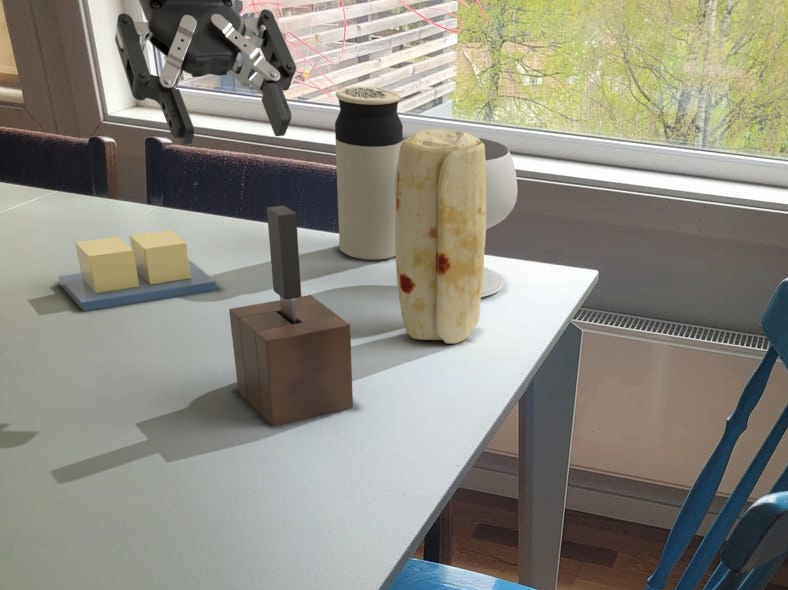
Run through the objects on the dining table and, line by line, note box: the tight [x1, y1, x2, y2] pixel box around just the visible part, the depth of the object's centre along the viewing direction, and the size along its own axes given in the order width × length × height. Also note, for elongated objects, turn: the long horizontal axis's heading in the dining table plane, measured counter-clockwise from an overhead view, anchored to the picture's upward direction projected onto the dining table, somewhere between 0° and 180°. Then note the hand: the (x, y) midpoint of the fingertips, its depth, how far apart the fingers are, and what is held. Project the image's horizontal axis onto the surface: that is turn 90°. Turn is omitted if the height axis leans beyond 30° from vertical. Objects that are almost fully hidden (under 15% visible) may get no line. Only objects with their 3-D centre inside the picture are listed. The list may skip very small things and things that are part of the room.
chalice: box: [394, 137, 519, 298], centre depth 114 cm, size 14×14×15 cm
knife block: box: [228, 294, 354, 427], centre depth 90 cm, size 8×8×8 cm
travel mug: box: [334, 86, 404, 261], centre depth 121 cm, size 8×8×18 cm
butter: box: [58, 229, 217, 312], centre depth 112 cm, size 15×9×5 cm, turn 123°
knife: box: [266, 205, 302, 324], centre depth 88 cm, size 2×3×17 cm, turn 33°
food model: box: [395, 128, 487, 345], centre depth 100 cm, size 10×7×20 cm
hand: (237, 134), depth 85 cm, fingers open, 8 cm apart
